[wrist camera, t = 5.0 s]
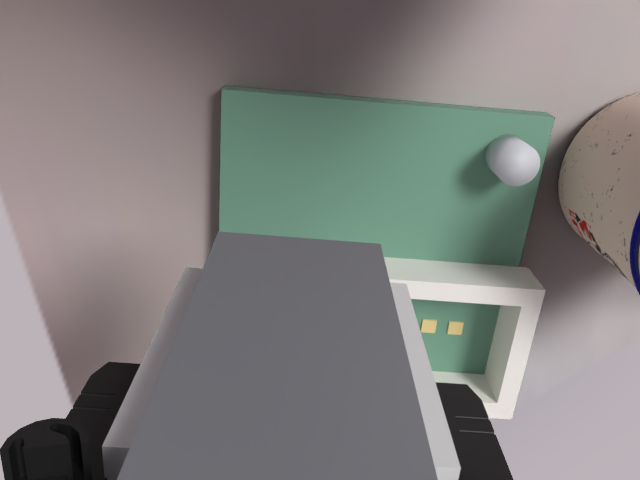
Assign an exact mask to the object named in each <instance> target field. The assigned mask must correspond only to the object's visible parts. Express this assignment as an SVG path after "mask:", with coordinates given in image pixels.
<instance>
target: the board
mask: <svg viewBox="0 0 640 480" xmlns="http://www.w3.org/2000/svg"><path fill="white" fill-rule="evenodd" d="M554 119H555V117H553V116H551V115H550V114H548V113H545V112H533V111H521V110H509V109H497V108H485V107H473V106H461V105H450V104H438V103H426V102H414V101H402V100H390V99H378V98H366V97H354V96H342V95H330V94H318V93H306V92H294V91H282V90H270V89H258V88H246V87H234V86H224V87H223V88H222V89H221V142H220V202H219V232H232V233H245V234H258V235H271V236H285V237H298V238H311V239H325V240H338V241H351V242H364V243H378V244H381V248H382V252H383V256H384V257H392V258H405V259H419V260H433V261H447V262H460V263H474V264H488V265H502V266H515V267H519V264H520V260H521V256H522V252H523V248H524V244H525V239H526V235H527V231H528V227H529V223H530V219H531V214H532V210H533V206H534V202H535V198H536V194H537V190H538V185H539V181H540V177H541V173H542V169H543V165H544V161H545V156H546V152H547V148H548V144H549V140H550V136H551V131H552V127H553V123H554ZM411 301H412V305H413V308H414V311H415V315H416V318H417V322H418V325H419V328H420V332H421V326H422V320H423V319H430V320H437V325H436V330H435V333H424V332H421V335H422V338H423V342H424V345H425V349H426V352H427V355H428V359H429V362H430V366H431V369H432V371H440V372H456V373H471V374H485V370H486V365H487V361H488V357H489V352H490V348H491V344H492V340H493V335H494V331H495V327H496V323H497V318H498V314H499V310H500V305H492V304H477V303H463V302H449V301H434V300H420V299H411ZM449 321H459V322H464V325H463V330H462V334H461V335H454V334H447V330H448V325H449Z"/></svg>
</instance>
